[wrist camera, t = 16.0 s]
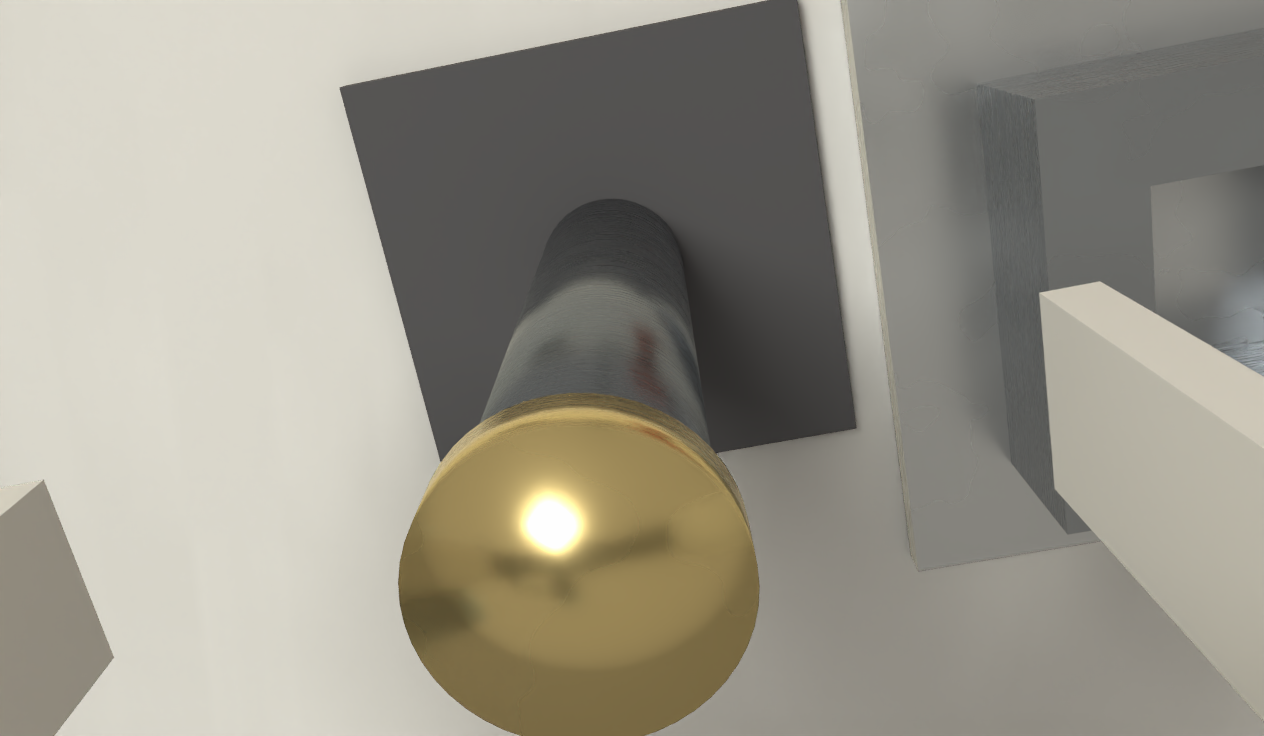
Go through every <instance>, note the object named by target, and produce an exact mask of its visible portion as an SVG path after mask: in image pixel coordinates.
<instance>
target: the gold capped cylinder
mask: <svg viewBox="0 0 1264 736" xmlns="http://www.w3.org/2000/svg"><path fill="white" fill-rule="evenodd" d="M398 586H399V600H400V607H401V611H402V616H403V620H404V624H405V627H406V630H407V632H408V635H409V638H410V640H411V643H412V645H413V647H414V649H415V650H416V652H417V654H418V656H419V658H420V660H421V662H422V663H423V664H424V666H425V667H426V668H427V670H428V671H429V673H430V674H431V675H432V677H433V678H434V679H435V680H436V681H437V682H438V684H439V685H440V686H441V687H442V688H443V689H444V690H445V691H446V692H447V693H448V694H449V695H450V696H451V697H453V698H454V699H455V700H456V701H457V702H459V703H460V704H461V705H462V706H464V707H465V708H466V709H468V710H469V711H471V712H472V713H474V714H475V715H477V716H478V717H480V718H482V719H483V720H485V721H487V722H489V723H491V724H493V725H495V726H497V727H499V728H501V729H503V730H506V731H509V732H512V733H514V734H517V735H520V736H644V735H647V734H650V733H653V732H656V731H658V730H661V729H663V728H665V727H667V726H669V725H671V724H673V723H675V722H677V721H679V720H680V719H682V718H684V717H685V716H687V715H688V714H690V713H692V712H693V711H695V710H696V709H697V708H698V707H700V706H701V705H702V704H703V703H705V702H706V701H707V700H708V699H709V698H711V697H712V696H713V695H714V694H715V692H716V691H717V690H718V689H719V688H720V687H721V686H722V685H723V684H724V683H725V682H726V681H727V679H728V678H729V676H730V675H731V674H732V672H733V671H734V669H735V668H736V667H737V665H738V663H739V662H740V660H741V658H742V656H743V654H744V652H745V650H746V648H747V646H748V644H749V641H750V638H751V635H752V632H753V630H754V627H755V621H756V616H757V611H758V606H759V577H758V567H757V561H756V556H755V551H754V546H753V541H752V536H751V531H750V526H749V521H748V517H747V513H746V509H745V505H744V502H743V499H742V497H741V494H740V492H739V489H738V487H737V485H736V483H735V481H734V479H733V477H732V476H731V474H730V472H729V471H728V469H727V467H726V466H725V464H724V463H723V462H722V461H721V459H720V458H719V457H718V455H717V454H716V453H715V452H714V450H713V449H712V448H711V447H710V441H709V434H708V427H707V421H706V414H705V408H704V401H703V394H702V388H701V381H700V374H699V368H698V361H697V354H696V348H695V341H694V334H693V328H692V321H691V314H690V308H689V301H688V294H687V288H686V281H685V274H684V268H683V261H682V255H681V251H680V247H679V244H678V242H677V239H676V237H675V236H674V234H673V232H672V230H671V229H670V228H669V226H668V225H667V224H666V222H665V221H664V220H663V219H662V218H661V217H660V216H658V215H657V214H656V213H654V212H653V211H652V210H650V209H648V208H647V207H645V206H643V205H640V204H638V203H636V202H632V201H628V200H623V199H601V200H596V201H592V202H589V203H586V204H584V205H582V206H580V207H578V208H576V209H574V210H573V211H571V212H570V213H569V214H567V215H566V216H565V217H564V218H563V219H562V220H561V221H560V222H559V223H558V225H557V226H556V227H555V228H554V230H553V232H552V233H551V235H550V237H549V239H548V242H547V244H546V247H545V249H544V252H543V255H542V257H541V260H540V263H539V265H538V268H537V271H536V274H535V276H534V279H533V282H532V284H531V287H530V290H529V292H528V295H527V298H526V300H525V303H524V306H523V308H522V311H521V314H520V316H519V319H518V322H517V325H516V327H515V330H514V333H513V335H512V338H511V341H510V343H509V346H508V349H507V351H506V354H505V357H504V359H503V362H502V365H501V367H500V370H499V373H498V376H497V378H496V381H495V384H494V386H493V389H492V392H491V394H490V397H489V400H488V402H487V405H486V408H485V410H484V413H483V416H482V418H481V421H480V424H479V425H477V426H476V427H475V428H473V429H472V430H470V431H469V432H468V433H467V434H466V435H465V436H464V437H463V438H462V439H461V440H459V441H458V442H457V443H456V444H455V445H454V446H453V447H452V449H451V450H450V451H449V452H448V454H447V455H446V456H445V458H444V459H443V460H442V461H441V463H440V464H439V466H438V468H437V469H436V471H435V473H434V475H433V476H432V478H431V480H430V482H429V484H428V487H427V489H426V491H425V494H424V496H423V498H422V501H421V503H420V505H419V508H418V510H417V512H416V515H415V517H414V519H413V521H412V524H411V527H410V529H409V532H408V534H407V537H406V539H405V542H404V546H403V551H402V555H401V559H400V567H399V580H398Z"/></svg>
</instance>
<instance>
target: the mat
mask: <svg viewBox="0 0 1264 736" xmlns="http://www.w3.org/2000/svg"><path fill="white" fill-rule="evenodd" d="M340 92H341V95H342V99H343V103H344V106H345V110H346V114H347V117H348V121H349V125H350V129H351V132H352V136H353V140H354V143H355V147H356V151H357V154H358V158H359V162H360V165H361V169H362V173H363V177H364V180H365V184H366V188H367V191H368V195H369V199H370V202H371V206H372V210H373V214H374V217H375V221H376V225H377V228H378V232H379V236H380V239H381V243H382V247H383V251H384V254H385V258H386V262H387V265H388V269H389V273H390V276H391V280H392V284H393V288H394V291H395V295H396V299H397V302H398V306H399V310H400V313H401V317H402V321H403V324H404V328H405V332H406V336H407V339H408V343H409V347H410V350H411V354H412V358H413V361H414V365H415V369H416V373H417V376H418V380H419V384H420V387H421V391H422V395H423V398H424V402H425V406H426V410H427V413H428V417H429V421H430V424H431V428H432V432H433V435H434V439H435V443H436V447H437V450H438V454H439V458H440V461H442V460H443V459H444V458H445V456H446V455H447V454H448V452H449V451H450V450H451V449H452V447H453V446H454V445H455V444H456V443H457V442H458V441H459V440H461V439H462V438H463V437H464V436H465V435H466V434H467V433H468V432H469V431H470V430H472V429H473V428H475V427H476V426H477V425H479V424H480V421H481V418H482V416H483V413H484V410H485V408H486V405H487V402H488V400H489V397H490V394H491V392H492V389H493V386H494V384H495V381H496V378H497V376H498V373H499V370H500V367H501V365H502V362H503V359H504V357H505V354H506V351H507V349H508V346H509V343H510V341H511V338H512V335H513V333H514V330H515V327H516V325H517V322H518V319H519V316H520V314H521V311H522V308H523V306H524V303H525V300H526V298H527V295H528V292H529V290H530V287H531V284H532V282H533V279H534V276H535V274H536V271H537V268H538V265H539V263H540V260H541V257H542V255H543V252H544V249H545V247H546V244H547V242H548V239H549V237H550V235H551V233H552V232H553V230H554V228H555V227H556V226H557V225H558V223H559V222H560V221H561V220H562V219H563V218H564V217H565V216H566V215H567V214H569V213H570V212H571V211H573V210H574V209H576V208H578V207H580V206H582V205H584V204H586V203H589V202H592V201H596V200H601V199H623V200H628V201H632V202H636V203H638V204H640V205H643V206H645V207H647V208H648V209H650V210H652V211H653V212H654V213H656V214H657V215H658V216H660V217H661V218H662V219H663V220H664V221H665V222H666V224H667V225H668V226H669V228H670V229H671V230H672V232H673V234H674V236H675V237H676V239H677V242H678V244H679V247H680V251H681V255H682V261H683V268H684V274H685V281H686V288H687V294H688V301H689V308H690V314H691V321H692V328H693V334H694V341H695V348H696V354H697V361H698V368H699V374H700V381H701V388H702V394H703V401H704V408H705V414H706V421H707V427H708V434H709V441H710V447H711V448H712V449H713V450H714V452H715V453H718V452H723V451H729V450H735V449H741V448H746V447H752V446H758V445H763V444H769V443H775V442H781V441H786V440H792V439H798V438H804V437H809V436H815V435H821V434H826V433H832V432H838V431H844V430H849V429H855V428H856V422H855V415H854V407H853V400H852V393H851V386H850V379H849V371H848V364H847V357H846V350H845V342H844V335H843V328H842V321H841V314H840V306H839V299H838V292H837V285H836V278H835V270H834V263H833V256H832V249H831V241H830V234H829V227H828V220H827V213H826V205H825V198H824V191H823V184H822V176H821V169H820V162H819V155H818V148H817V140H816V133H815V126H814V119H813V111H812V104H811V97H810V90H809V83H808V75H807V68H806V61H805V54H804V46H803V39H802V32H801V25H800V18H799V10H798V3H797V0H767V1H762V2H757V3H752V4H747V5H742V6H737V7H732V8H727V9H722V10H718V11H713V12H708V13H703V14H698V15H693V16H688V17H683V18H678V19H673V20H668V21H663V22H658V23H653V24H648V25H643V26H638V27H633V28H629V29H624V30H619V31H614V32H609V33H604V34H599V35H594V36H589V37H584V38H579V39H574V40H569V41H564V42H559V43H554V44H549V45H544V46H540V47H535V48H530V49H525V50H520V51H515V52H510V53H505V54H500V55H495V56H490V57H485V58H480V59H475V60H470V61H465V62H460V63H455V64H451V65H446V66H441V67H436V68H431V69H426V70H421V71H416V72H411V73H406V74H401V75H396V76H391V77H386V78H381V79H376V80H371V81H366V82H362V83H357V84H352V85H347V86H343V87H340Z"/></svg>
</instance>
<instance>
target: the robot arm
mask: <svg viewBox="0 0 1264 736" xmlns="http://www.w3.org/2000/svg"><path fill="white" fill-rule="evenodd" d="M1039 297H1040V310H1041V322H1042V335H1043V348H1044V360H1045V373H1046V386H1047V398H1048V411H1049V423H1050V436H1051V449H1052V461H1053V474H1054V487H1055V490H1056V491H1057V492H1058V493H1059V494H1060V495H1061V496H1062V498H1063V499H1064V500H1065V501H1066V502H1067V503H1068V504H1069V505H1070V507H1071V508H1072V509H1073V510H1074V511H1075V512H1076V513H1077V514H1078V515H1079V517H1080V518H1081V519H1082V520H1083V521H1084V522H1085V523H1086V524H1087V525H1088V527H1089V528H1090V529H1091V530H1092V531H1093V532H1094V533H1095V534H1096V536H1097V537H1098V538H1099V539H1100V540H1101V541H1102V542H1103V543H1104V544H1105V546H1106V547H1107V548H1108V549H1109V550H1110V551H1111V552H1112V553H1113V555H1114V556H1115V557H1116V558H1117V559H1118V560H1119V561H1120V562H1121V563H1122V565H1123V566H1124V567H1125V568H1126V569H1127V570H1128V571H1129V572H1130V573H1131V575H1132V576H1133V577H1134V578H1135V579H1136V580H1137V581H1138V582H1139V584H1140V585H1141V586H1142V587H1143V588H1144V589H1145V590H1146V591H1147V592H1148V594H1149V595H1150V596H1151V597H1152V598H1153V599H1154V600H1155V601H1156V603H1157V604H1158V605H1159V606H1160V607H1161V608H1162V609H1163V610H1164V611H1165V613H1166V614H1167V615H1168V616H1169V617H1170V618H1171V619H1172V620H1173V621H1174V623H1175V624H1176V625H1177V626H1178V627H1179V628H1180V629H1181V630H1182V632H1183V633H1184V634H1185V635H1186V636H1187V637H1188V638H1189V639H1190V640H1191V642H1192V643H1193V644H1194V645H1195V646H1196V647H1197V648H1198V649H1199V651H1200V652H1201V653H1202V654H1203V655H1204V656H1205V657H1206V658H1207V659H1208V661H1209V662H1210V663H1211V664H1212V665H1213V666H1214V667H1215V668H1216V669H1217V671H1218V672H1219V673H1220V674H1221V675H1222V676H1223V677H1224V678H1225V680H1226V681H1227V682H1228V683H1229V684H1230V685H1231V686H1232V687H1233V688H1234V690H1235V691H1236V692H1237V693H1238V694H1239V695H1240V696H1241V697H1242V698H1243V700H1244V701H1245V702H1246V703H1247V704H1248V705H1249V706H1250V707H1251V709H1252V710H1253V711H1254V712H1255V713H1256V714H1257V715H1258V716H1259V717H1260V719H1261V720H1262V721H1263V722H1264V377H1263V376H1262V375H1260V374H1258V373H1257V372H1255V371H1253V370H1251V369H1250V368H1248V367H1246V366H1245V365H1243V364H1241V363H1239V362H1238V361H1236V360H1234V359H1233V358H1231V357H1229V356H1227V355H1226V354H1224V353H1222V352H1221V351H1219V350H1217V349H1215V348H1214V347H1212V346H1210V345H1209V344H1207V343H1205V342H1203V341H1202V340H1200V339H1198V338H1197V337H1195V336H1193V335H1191V334H1190V333H1188V332H1186V331H1184V330H1183V329H1181V328H1179V327H1178V326H1176V325H1174V324H1172V323H1171V322H1169V321H1167V320H1166V319H1164V318H1162V317H1160V316H1159V315H1157V314H1155V313H1154V312H1152V311H1150V310H1148V309H1147V308H1145V307H1143V306H1142V305H1140V304H1138V303H1136V302H1135V301H1133V300H1131V299H1130V298H1128V297H1126V296H1124V295H1123V294H1121V293H1119V292H1118V291H1116V290H1114V289H1112V288H1111V287H1109V286H1107V285H1105V284H1104V283H1102V282H1100V281H1099V282H1094V283H1088V284H1083V285H1078V286H1072V287H1067V288H1062V289H1056V290H1051V291H1046V292H1040V293H1039ZM113 658H114V656H113V654H112V651H111V649H110V646H109V644H108V641H107V639H106V636H105V634H104V631H103V629H102V626H101V624H100V621H99V619H98V616H97V613H96V611H95V608H94V606H93V603H92V601H91V598H90V596H89V593H88V591H87V588H86V586H85V583H84V581H83V578H82V576H81V573H80V571H79V568H78V565H77V563H76V560H75V558H74V555H73V553H72V550H71V548H70V545H69V543H68V540H67V538H66V535H65V533H64V530H63V528H62V525H61V522H60V520H59V517H58V515H57V512H56V510H55V507H54V505H53V502H52V500H51V497H50V495H49V492H48V490H47V487H46V485H45V482H44V480H40V481H34V482H29V483H24V484H18V485H13V486H8V487H3V488H0V736H54V735H55V734H56V733H57V731H58V730H59V729H60V728H61V726H62V725H63V724H64V722H65V721H66V720H67V718H68V717H69V716H70V714H71V713H72V712H73V711H74V709H75V708H76V707H77V705H78V704H79V703H80V701H81V700H82V699H83V697H84V696H85V695H86V693H87V692H88V691H89V690H90V688H91V687H92V686H93V684H94V683H95V682H96V680H97V679H98V678H99V676H100V675H101V674H102V673H103V671H104V670H105V669H106V667H107V666H108V665H109V663H110V662H111V661H112V659H113Z"/></svg>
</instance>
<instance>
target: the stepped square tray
mask: <svg viewBox="0 0 1264 736" xmlns="http://www.w3.org/2000/svg"><path fill="white" fill-rule="evenodd" d="M841 8H842V16H843V23H844V31H845V39H846V47H847V55H848V63H849V71H850V79H851V87H852V95H853V102H854V110H855V118H856V126H857V134H858V142H859V150H860V158H861V166H862V174H863V181H864V189H865V197H866V205H867V213H868V221H869V229H870V237H871V245H872V253H873V260H874V268H875V276H876V284H877V292H878V300H879V308H880V316H881V324H882V332H883V339H884V347H885V355H886V363H887V371H888V379H889V387H890V395H891V403H892V411H893V418H894V426H895V434H896V442H897V450H898V458H899V466H900V474H901V482H902V490H903V497H904V505H905V513H906V521H907V529H908V537H909V545H910V553H911V557H912V559H913V561H914V563H915V565H916V568H917V570H918V571H924V570H930V569H936V568H942V567H948V566H954V565H960V564H966V563H972V562H978V561H984V560H990V559H996V558H1002V557H1008V556H1014V555H1020V554H1026V553H1032V552H1038V551H1045V550H1051V549H1057V548H1063V547H1069V546H1075V545H1081V544H1087V543H1093V542H1099V541H1101V540H1100V539H1099V538H1098V537H1097V536H1096V534H1095V533H1094V532H1093V531H1092V530H1091V529H1090V528H1089V527H1088V525H1087V524H1086V523H1085V522H1084V521H1083V520H1082V519H1081V518H1080V517H1079V515H1078V514H1077V513H1076V512H1075V511H1074V510H1073V509H1072V508H1071V507H1070V505H1069V504H1068V503H1067V502H1066V501H1065V500H1064V499H1063V498H1062V496H1061V495H1060V494H1059V493H1058V492H1057V491H1056V490H1055V487H1054V474H1053V461H1052V449H1051V436H1050V423H1049V411H1048V398H1047V386H1046V373H1045V360H1044V348H1043V335H1042V322H1041V310H1040V297H1039V293H1040V292H1046V291H1051V290H1056V289H1062V288H1067V287H1072V286H1078V285H1083V284H1088V283H1094V282H1099V281H1100V282H1102V283H1104V284H1105V285H1107V286H1109V287H1111V288H1112V289H1114V290H1116V291H1118V292H1119V293H1121V294H1123V295H1124V296H1126V297H1128V298H1130V299H1131V300H1133V301H1135V302H1136V303H1138V304H1140V305H1142V306H1143V307H1145V308H1147V309H1148V310H1150V311H1152V312H1154V313H1155V314H1157V315H1159V316H1160V317H1162V318H1164V319H1166V320H1167V321H1169V322H1171V323H1172V324H1174V325H1176V326H1178V327H1179V328H1181V329H1183V330H1184V331H1186V332H1188V333H1190V334H1191V335H1193V336H1195V337H1197V338H1198V339H1200V340H1202V341H1203V342H1205V343H1207V344H1209V345H1210V346H1212V347H1214V348H1215V349H1217V350H1219V351H1221V352H1222V353H1224V354H1226V355H1227V356H1229V357H1231V358H1233V359H1234V360H1236V361H1238V362H1239V363H1241V364H1243V365H1245V366H1246V367H1248V368H1250V369H1251V370H1253V371H1255V372H1257V373H1258V374H1260V375H1262V376H1263V377H1264V0H841Z"/></svg>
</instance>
